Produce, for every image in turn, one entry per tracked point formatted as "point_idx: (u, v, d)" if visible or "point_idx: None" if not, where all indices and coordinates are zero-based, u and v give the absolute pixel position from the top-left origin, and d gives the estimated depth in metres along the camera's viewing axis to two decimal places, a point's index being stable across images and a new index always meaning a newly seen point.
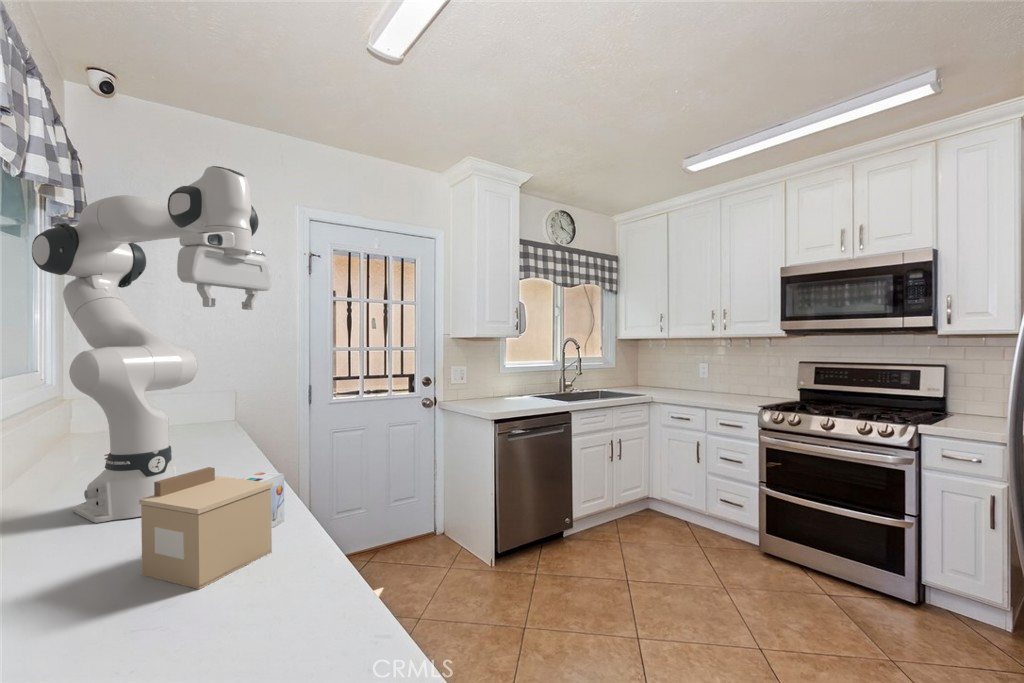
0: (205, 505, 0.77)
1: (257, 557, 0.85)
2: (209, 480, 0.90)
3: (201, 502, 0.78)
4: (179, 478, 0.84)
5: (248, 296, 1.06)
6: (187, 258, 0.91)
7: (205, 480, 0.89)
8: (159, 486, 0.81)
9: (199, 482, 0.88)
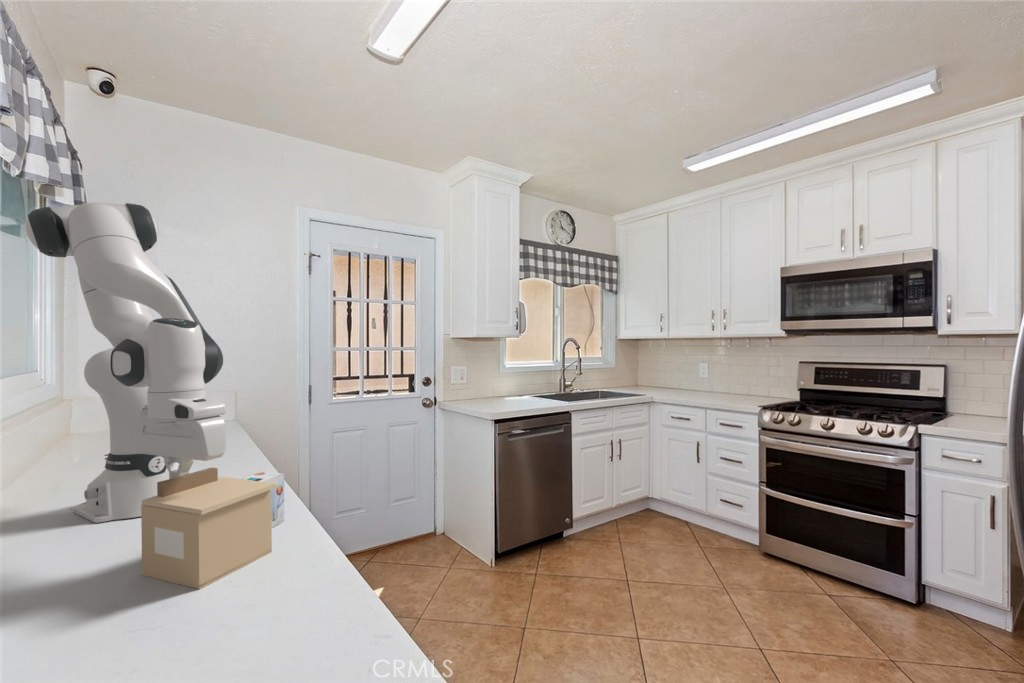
0: (208, 506, 0.76)
1: (257, 557, 0.85)
2: (212, 480, 0.89)
3: (204, 503, 0.78)
4: (182, 478, 0.84)
5: (170, 463, 0.86)
6: (219, 433, 0.84)
7: (208, 480, 0.89)
8: (162, 486, 0.81)
9: (202, 482, 0.87)
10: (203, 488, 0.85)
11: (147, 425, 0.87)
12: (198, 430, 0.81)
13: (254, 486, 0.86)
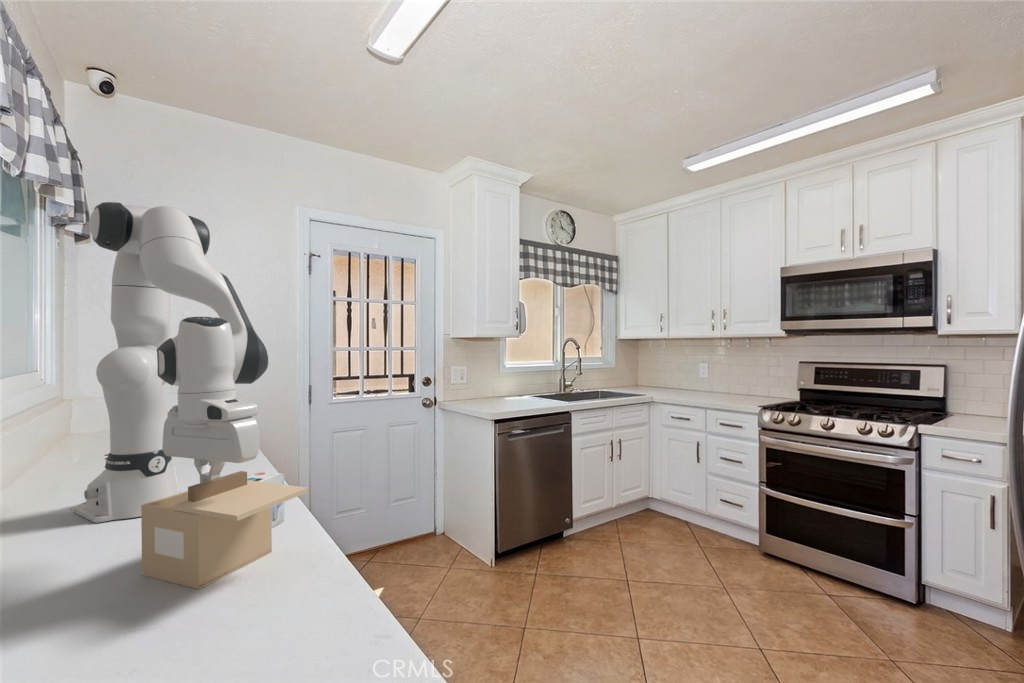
0: (243, 511, 0.74)
1: (257, 557, 0.85)
2: (242, 484, 0.87)
3: (238, 508, 0.75)
4: (213, 483, 0.81)
5: (201, 466, 0.84)
6: (252, 434, 0.81)
7: (238, 484, 0.86)
8: (193, 491, 0.78)
9: (232, 487, 0.85)
10: (234, 492, 0.83)
11: (177, 427, 0.84)
12: (232, 431, 0.79)
13: (286, 490, 0.84)
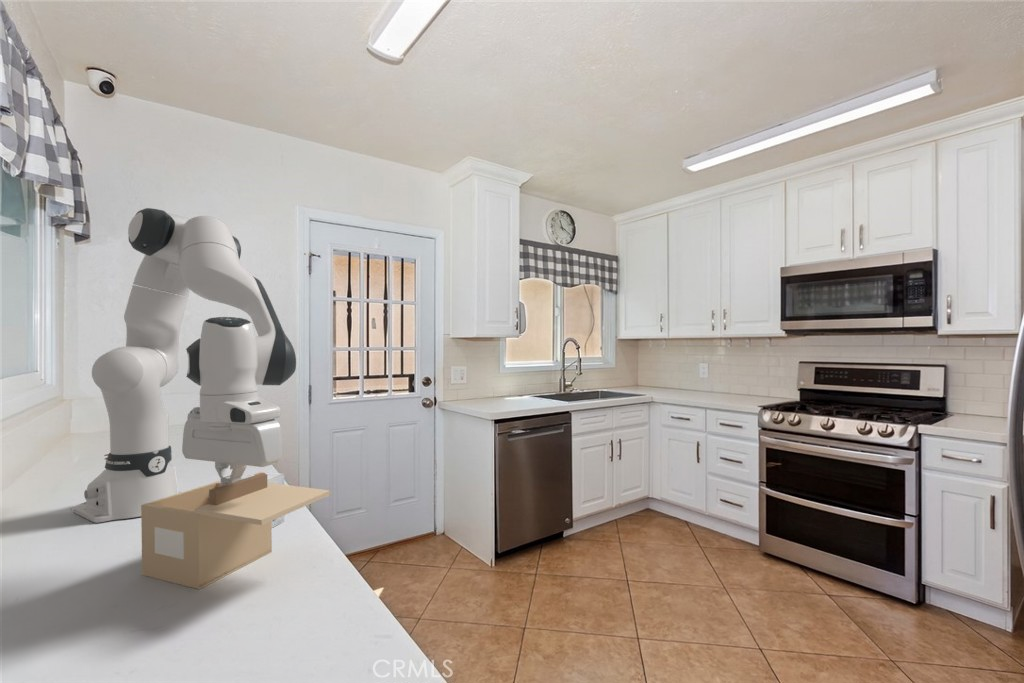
0: (267, 515, 0.72)
1: (257, 557, 0.85)
2: (262, 487, 0.85)
3: (262, 512, 0.73)
4: (234, 486, 0.80)
5: (222, 469, 0.82)
6: (275, 438, 0.80)
7: (258, 487, 0.84)
8: (215, 494, 0.77)
9: (253, 489, 0.83)
10: (255, 496, 0.81)
11: (197, 429, 0.83)
12: (255, 435, 0.77)
13: (308, 493, 0.82)
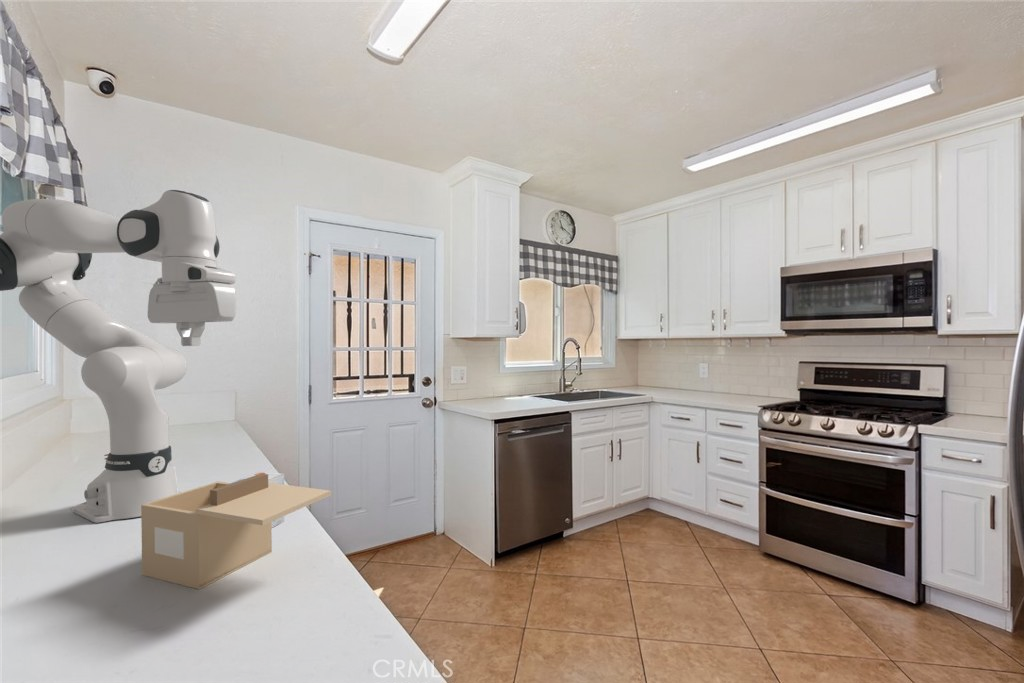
0: (268, 515, 0.72)
1: (257, 557, 0.85)
2: (263, 487, 0.85)
3: (263, 512, 0.73)
4: (235, 486, 0.79)
5: (182, 330, 0.91)
6: (229, 297, 0.88)
7: (259, 487, 0.84)
8: (216, 494, 0.76)
9: (253, 490, 0.83)
10: (256, 496, 0.81)
11: (161, 294, 0.92)
12: (210, 290, 0.86)
13: (309, 493, 0.82)
